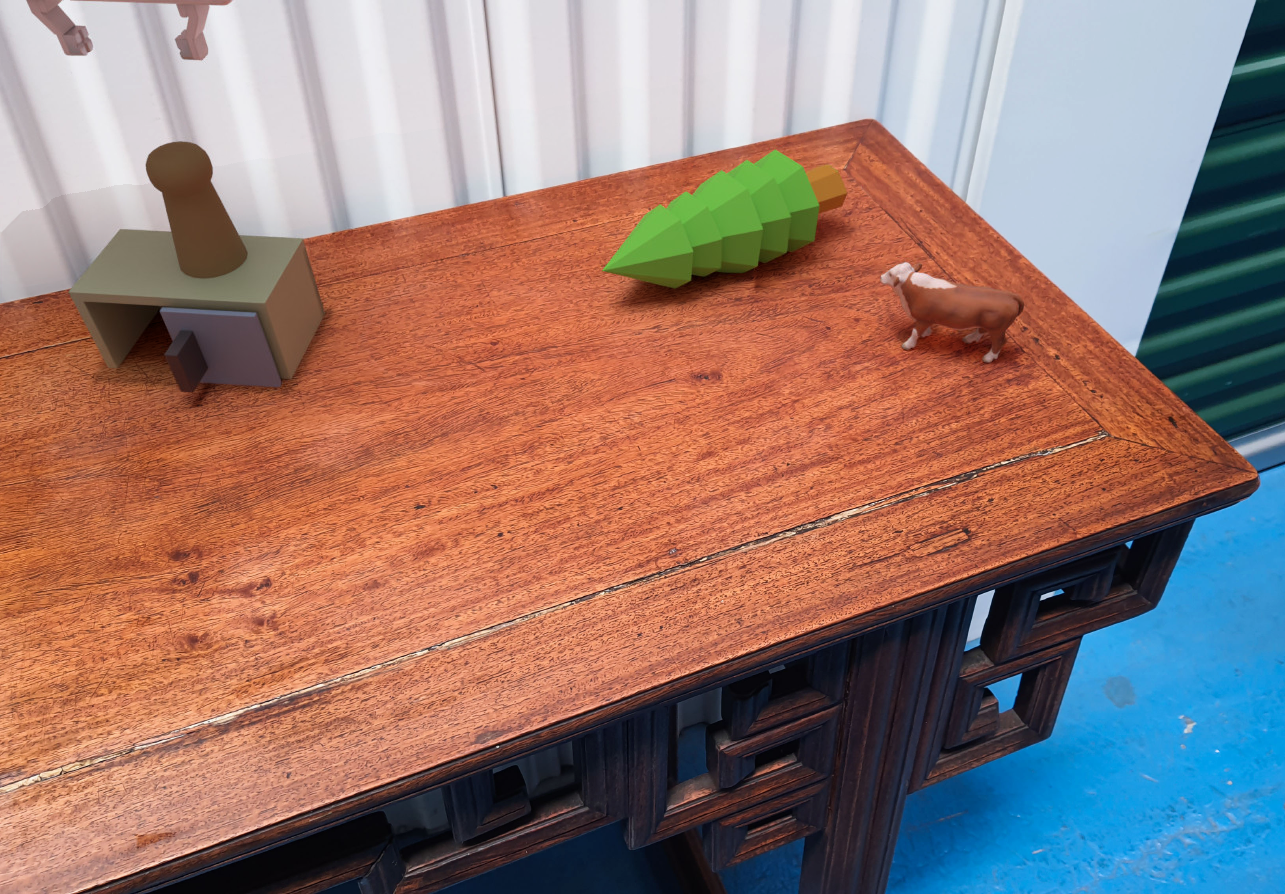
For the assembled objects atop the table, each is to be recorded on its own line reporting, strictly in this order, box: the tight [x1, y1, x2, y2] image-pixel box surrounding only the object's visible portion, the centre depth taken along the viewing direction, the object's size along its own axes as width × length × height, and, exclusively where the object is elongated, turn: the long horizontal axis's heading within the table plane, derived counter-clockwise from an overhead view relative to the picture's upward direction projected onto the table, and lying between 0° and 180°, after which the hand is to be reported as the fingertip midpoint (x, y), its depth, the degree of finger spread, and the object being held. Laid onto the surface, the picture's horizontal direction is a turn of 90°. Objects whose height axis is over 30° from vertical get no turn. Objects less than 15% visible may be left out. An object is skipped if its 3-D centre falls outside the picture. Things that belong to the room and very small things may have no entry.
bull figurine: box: [879, 261, 1025, 364], centre depth 95 cm, size 4×13×8 cm, turn 70°
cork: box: [145, 140, 248, 279], centre depth 87 cm, size 6×6×11 cm
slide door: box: [159, 307, 283, 394], centre depth 88 cm, size 9×4×8 cm, turn 84°
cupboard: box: [68, 228, 326, 380], centre depth 94 cm, size 18×12×10 cm, turn 84°
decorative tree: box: [601, 149, 848, 289], centre depth 103 cm, size 11×12×30 cm
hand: (138, 55), depth 78 cm, fingers open, 8 cm apart
